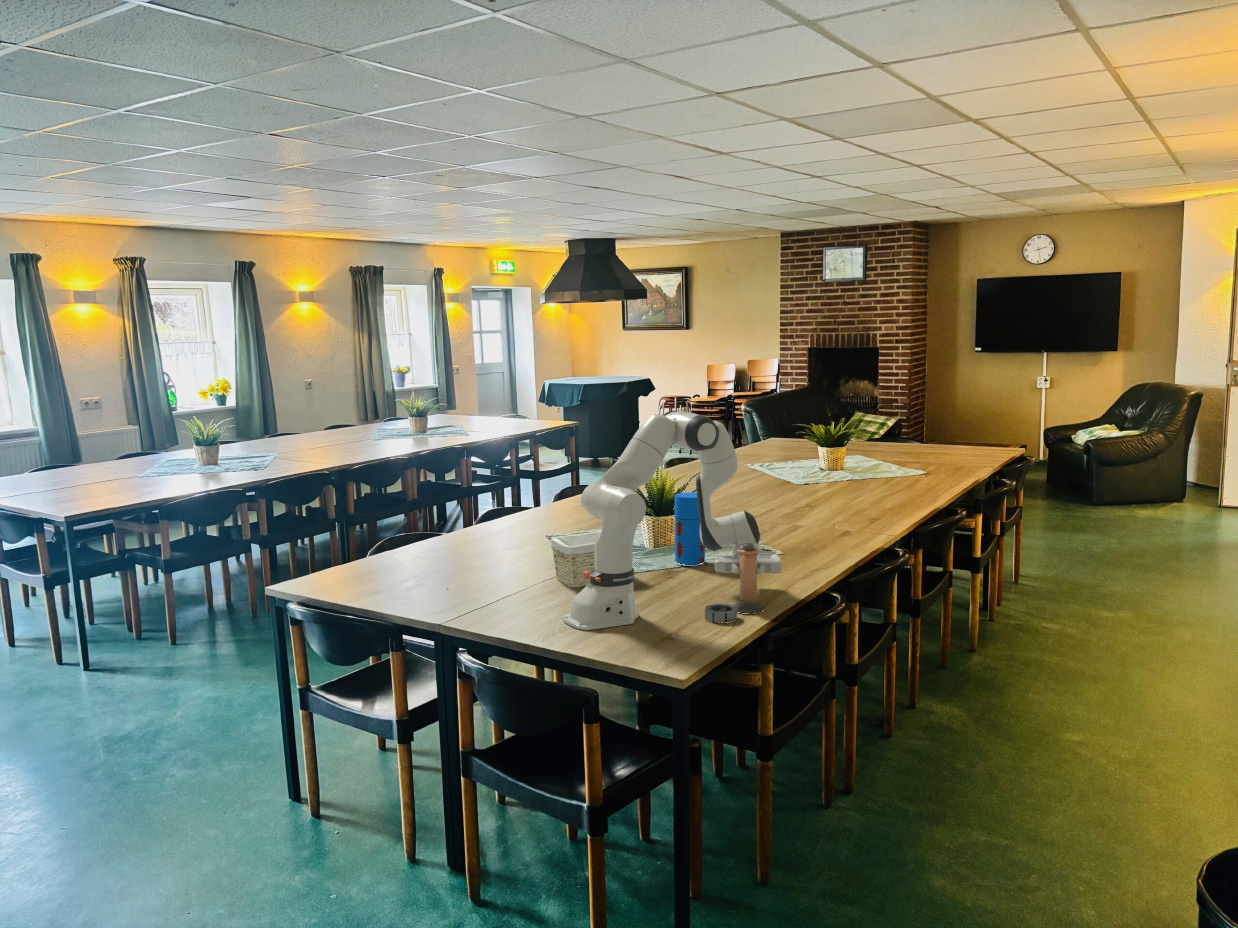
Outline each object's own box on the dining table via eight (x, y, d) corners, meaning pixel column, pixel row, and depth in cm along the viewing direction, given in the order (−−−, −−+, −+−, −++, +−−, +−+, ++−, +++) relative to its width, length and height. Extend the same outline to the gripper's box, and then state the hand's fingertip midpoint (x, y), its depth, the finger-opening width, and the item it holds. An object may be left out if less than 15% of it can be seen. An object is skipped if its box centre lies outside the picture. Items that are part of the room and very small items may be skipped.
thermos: (668, 563, 318) (668, 495, 315) (688, 557, 326) (688, 491, 322) (691, 568, 310) (691, 499, 307) (711, 562, 318) (711, 494, 314)
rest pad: (746, 616, 257) (746, 614, 257) (724, 608, 265) (724, 606, 265) (771, 610, 262) (771, 608, 262) (749, 602, 271) (749, 600, 271)
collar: (718, 625, 249) (718, 615, 249) (699, 617, 257) (699, 607, 257) (743, 619, 254) (743, 609, 254) (723, 611, 262) (723, 601, 261)
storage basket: (569, 590, 286) (568, 546, 284) (549, 578, 301) (548, 536, 298) (634, 580, 297) (633, 537, 295) (612, 569, 311) (611, 528, 309)
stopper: (747, 602, 259) (747, 547, 257) (734, 597, 264) (734, 543, 262) (762, 598, 263) (763, 544, 260) (749, 594, 268) (749, 540, 265)
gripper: (713, 549, 276) (713, 560, 262) (780, 550, 273) (783, 561, 260) (713, 568, 277) (713, 581, 263) (780, 569, 274) (782, 582, 261)
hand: (748, 571), depth 261 cm, fingers closed on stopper, 5 cm apart
